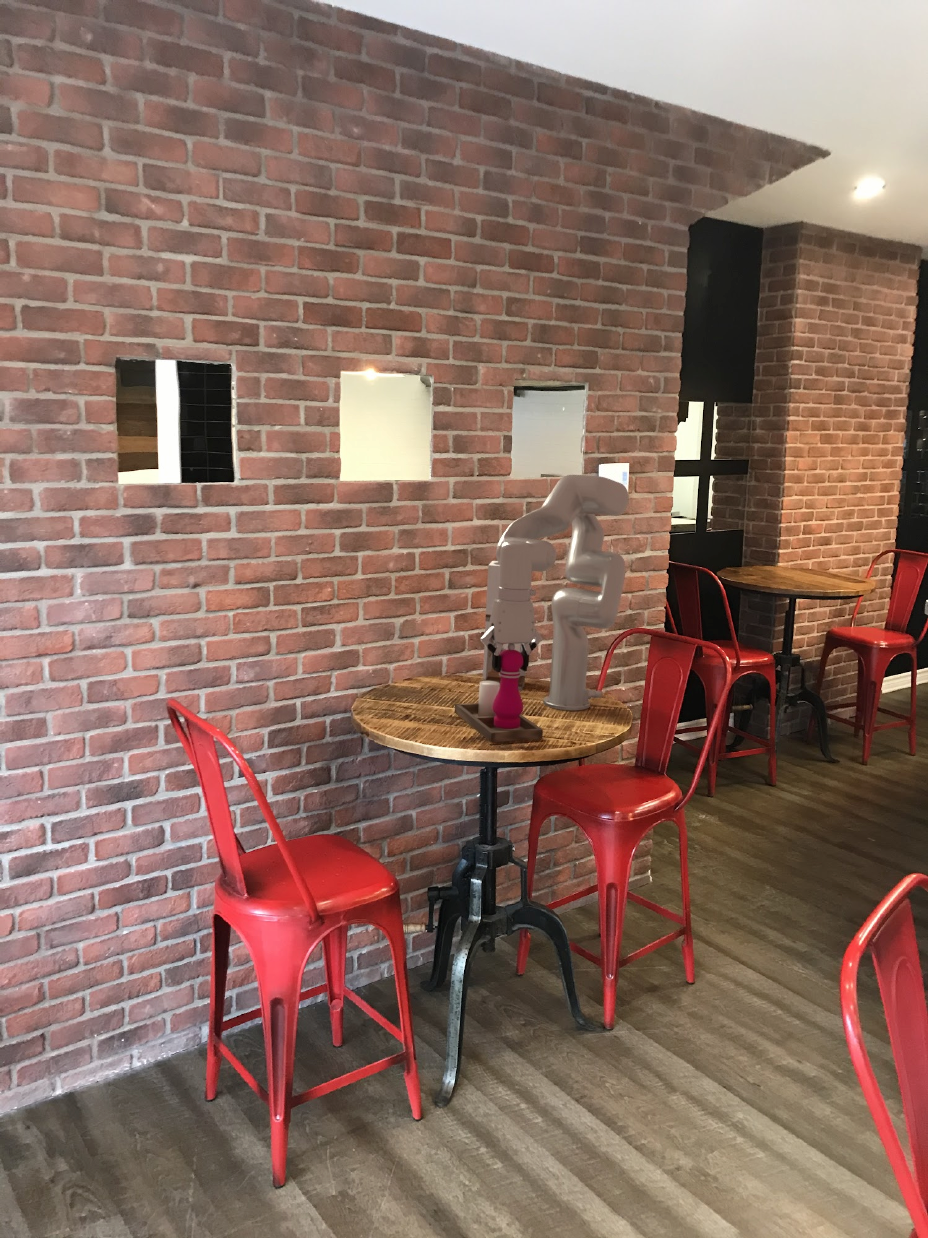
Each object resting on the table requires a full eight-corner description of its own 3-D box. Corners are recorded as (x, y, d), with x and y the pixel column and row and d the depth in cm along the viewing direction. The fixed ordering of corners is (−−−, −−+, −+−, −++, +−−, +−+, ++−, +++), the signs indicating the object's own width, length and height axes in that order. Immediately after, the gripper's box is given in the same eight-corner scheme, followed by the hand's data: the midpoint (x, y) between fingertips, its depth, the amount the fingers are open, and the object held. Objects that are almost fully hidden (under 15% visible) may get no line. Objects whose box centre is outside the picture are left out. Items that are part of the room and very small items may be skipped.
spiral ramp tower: (481, 687, 278) (488, 565, 272) (486, 679, 289) (492, 560, 283) (521, 690, 277) (529, 567, 271) (524, 682, 287) (532, 563, 281)
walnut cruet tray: (502, 713, 253) (502, 701, 253) (542, 742, 230) (542, 729, 230) (454, 715, 249) (455, 704, 248) (490, 745, 226) (491, 732, 225)
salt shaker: (493, 715, 248) (495, 680, 246) (500, 720, 243) (502, 685, 242) (474, 716, 246) (476, 681, 245) (482, 721, 242) (484, 686, 240)
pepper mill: (512, 731, 229) (517, 647, 225) (486, 725, 232) (490, 643, 229) (527, 725, 235) (532, 643, 231) (501, 719, 238) (505, 638, 235)
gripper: (541, 592, 234) (536, 665, 238) (473, 592, 228) (470, 668, 232) (554, 597, 227) (549, 673, 231) (485, 598, 222) (481, 675, 225)
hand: (509, 669), depth 231 cm, fingers closed on pepper mill, 6 cm apart
